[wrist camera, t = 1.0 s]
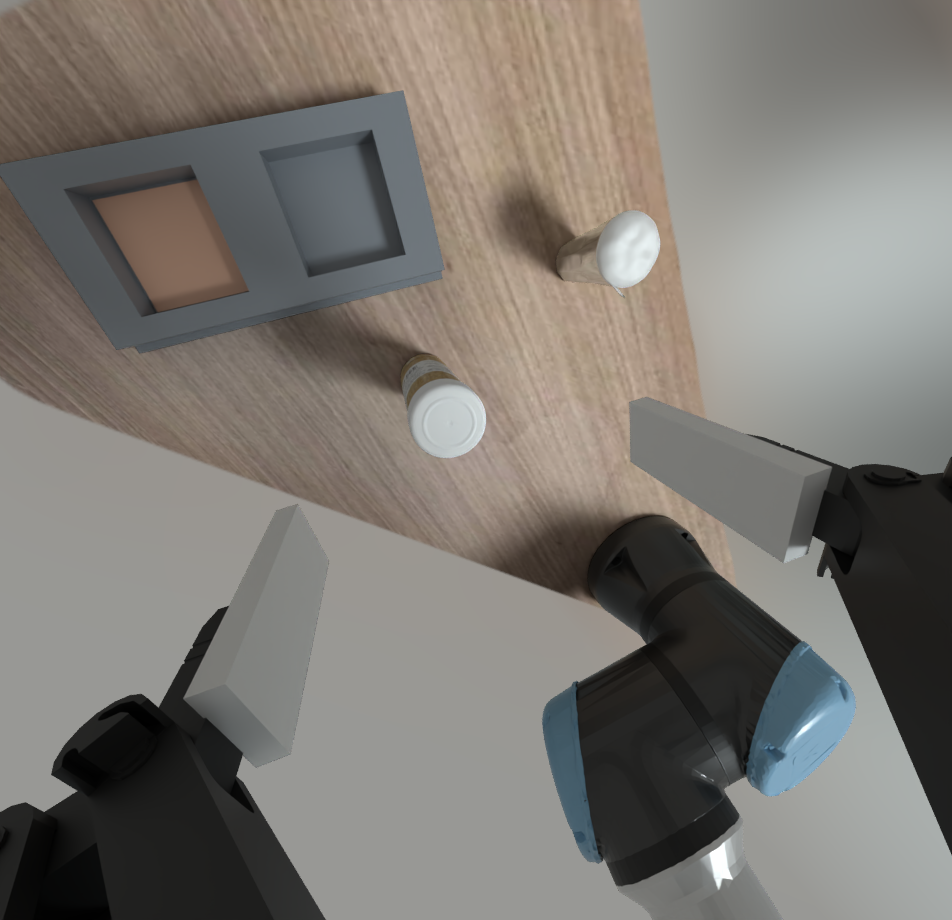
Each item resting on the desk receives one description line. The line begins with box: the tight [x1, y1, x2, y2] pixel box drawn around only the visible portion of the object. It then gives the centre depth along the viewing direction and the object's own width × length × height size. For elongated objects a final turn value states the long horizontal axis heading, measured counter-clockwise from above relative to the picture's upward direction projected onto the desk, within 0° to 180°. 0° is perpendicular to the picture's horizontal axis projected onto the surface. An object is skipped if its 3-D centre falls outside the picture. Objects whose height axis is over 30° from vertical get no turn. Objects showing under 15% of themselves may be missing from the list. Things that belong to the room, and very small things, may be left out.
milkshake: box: [556, 210, 660, 298], centre depth 27 cm, size 4×5×10 cm
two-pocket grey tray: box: [0, 91, 445, 353], centre depth 24 cm, size 11×23×3 cm, turn 103°
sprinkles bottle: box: [400, 354, 486, 458], centre depth 26 cm, size 5×5×13 cm
